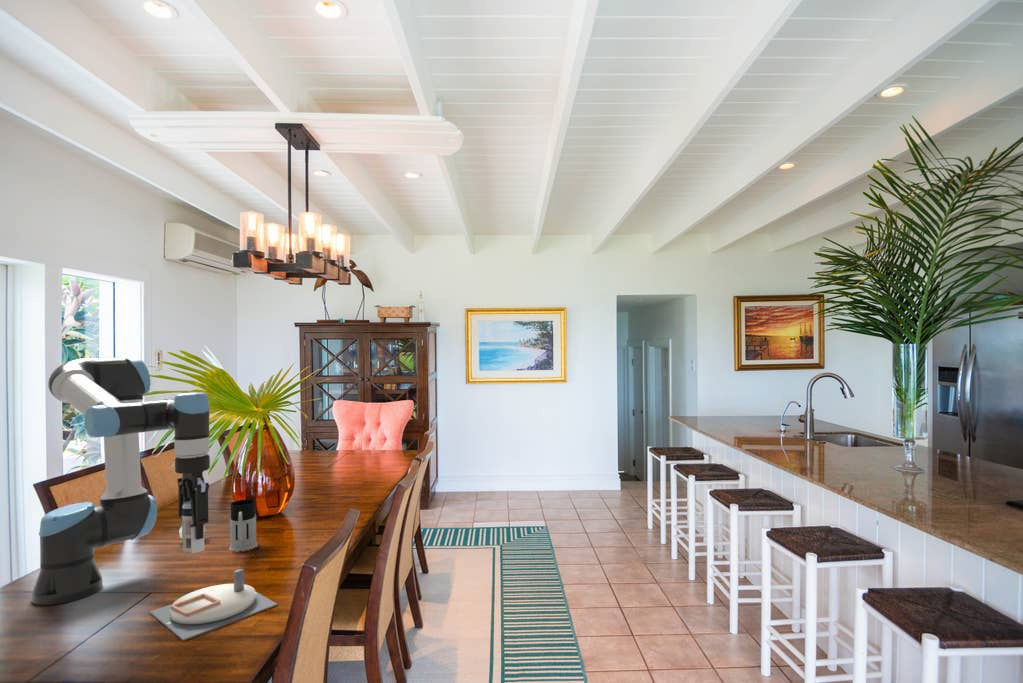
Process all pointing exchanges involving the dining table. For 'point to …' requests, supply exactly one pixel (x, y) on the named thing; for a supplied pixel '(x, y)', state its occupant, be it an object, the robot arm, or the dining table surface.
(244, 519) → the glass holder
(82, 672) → the dining table surface
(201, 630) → the plate
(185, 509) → the blue and white canister
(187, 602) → the turntable
